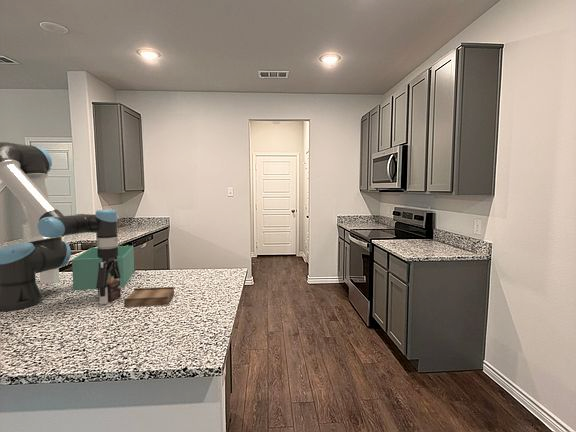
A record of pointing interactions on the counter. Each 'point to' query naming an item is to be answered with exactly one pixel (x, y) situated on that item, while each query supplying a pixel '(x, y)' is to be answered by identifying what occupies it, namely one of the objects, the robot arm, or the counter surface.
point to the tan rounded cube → (110, 279)
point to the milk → (49, 276)
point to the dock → (149, 297)
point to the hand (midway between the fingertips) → (109, 298)
